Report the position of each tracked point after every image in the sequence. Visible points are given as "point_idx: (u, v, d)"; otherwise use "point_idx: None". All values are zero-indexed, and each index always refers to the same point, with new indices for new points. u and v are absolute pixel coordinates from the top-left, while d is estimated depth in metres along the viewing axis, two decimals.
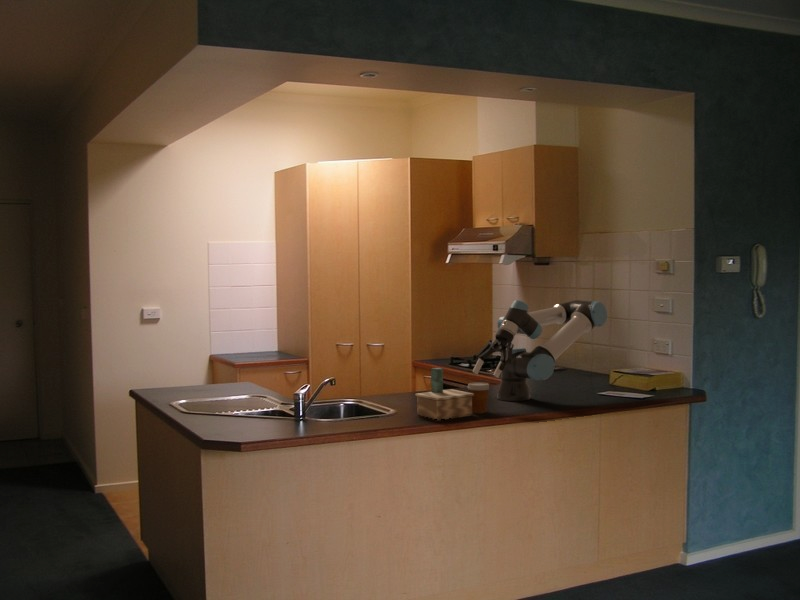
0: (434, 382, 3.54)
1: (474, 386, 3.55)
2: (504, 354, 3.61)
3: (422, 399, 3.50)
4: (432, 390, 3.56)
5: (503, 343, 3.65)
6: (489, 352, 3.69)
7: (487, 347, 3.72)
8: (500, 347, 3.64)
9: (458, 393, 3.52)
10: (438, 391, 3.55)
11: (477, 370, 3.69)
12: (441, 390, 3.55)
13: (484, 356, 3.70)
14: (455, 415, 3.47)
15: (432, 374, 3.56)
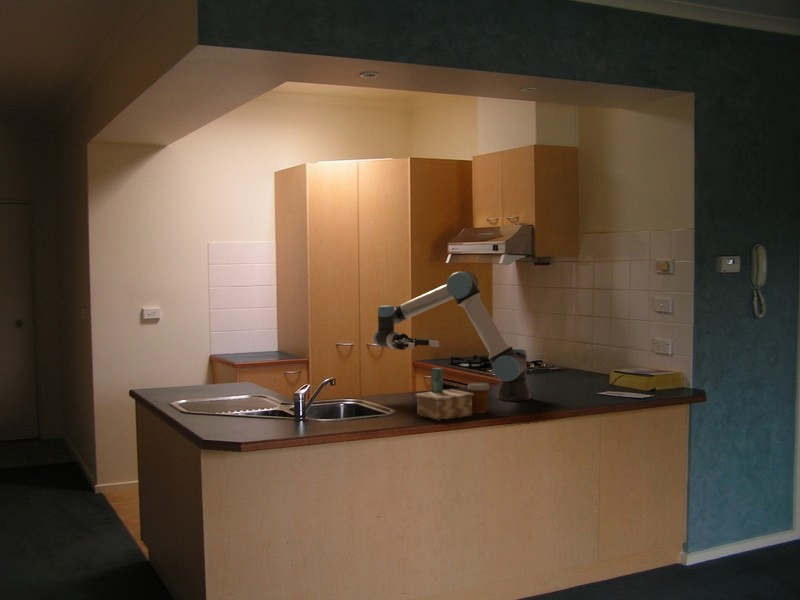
0: (434, 382, 3.54)
1: (474, 386, 3.55)
2: None
3: (422, 399, 3.50)
4: (432, 390, 3.56)
5: None
6: (419, 342, 3.80)
7: None
8: None
9: (458, 393, 3.52)
10: (438, 391, 3.55)
11: (435, 342, 3.74)
12: (441, 390, 3.55)
13: (425, 342, 3.79)
14: (455, 415, 3.47)
15: (432, 374, 3.56)
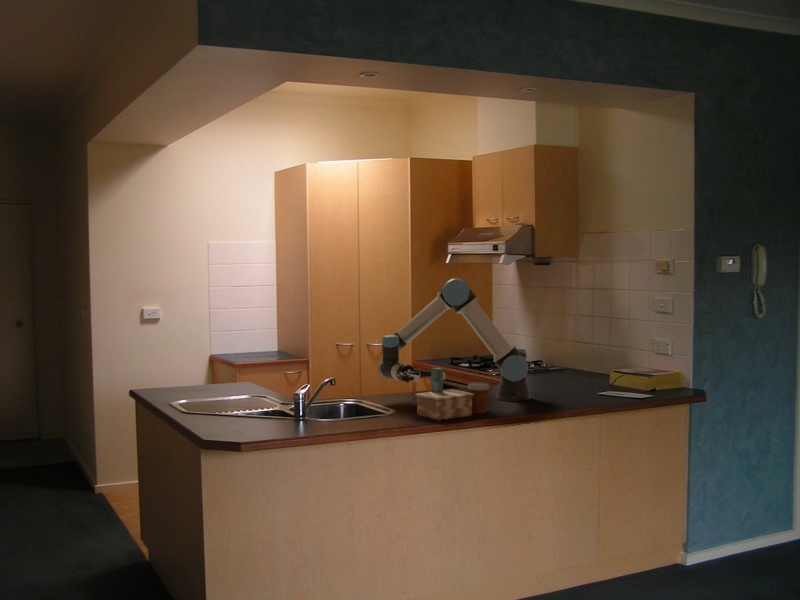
0: (434, 382, 3.54)
1: (474, 386, 3.55)
2: None
3: (422, 399, 3.50)
4: (432, 390, 3.56)
5: None
6: (424, 374, 3.69)
7: None
8: None
9: (458, 393, 3.52)
10: (438, 391, 3.55)
11: None
12: (441, 390, 3.55)
13: None
14: (455, 415, 3.47)
15: (432, 374, 3.56)
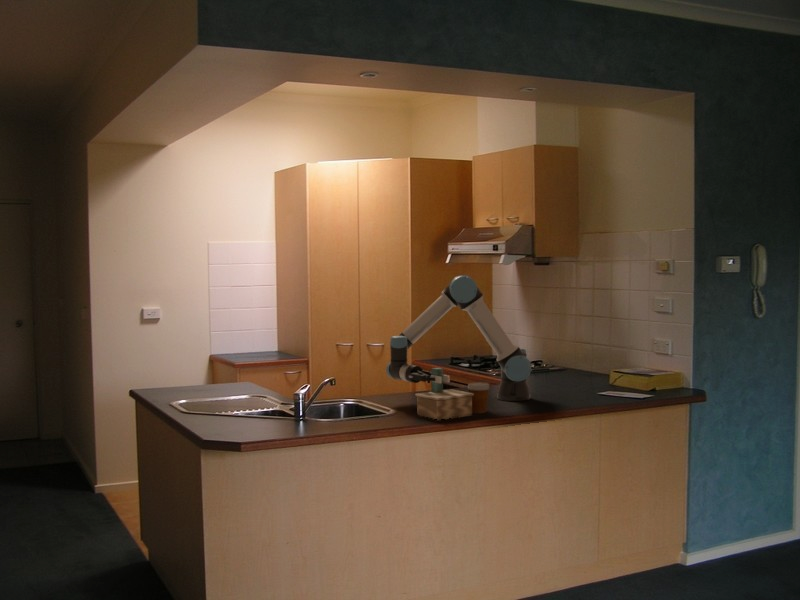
0: (434, 382, 3.54)
1: (474, 386, 3.55)
2: None
3: (422, 399, 3.50)
4: (432, 390, 3.56)
5: None
6: (430, 376, 3.62)
7: None
8: None
9: (458, 393, 3.52)
10: (438, 391, 3.55)
11: (446, 377, 3.54)
12: (441, 390, 3.55)
13: None
14: (455, 415, 3.47)
15: (432, 374, 3.56)
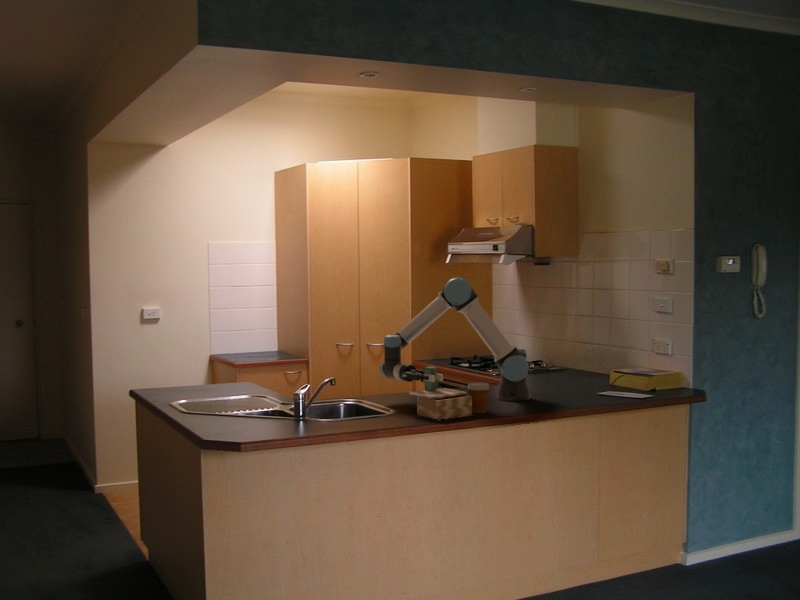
0: (428, 381, 3.58)
1: (474, 386, 3.55)
2: None
3: (422, 399, 3.50)
4: (425, 389, 3.60)
5: None
6: None
7: None
8: None
9: (451, 392, 3.56)
10: (431, 390, 3.58)
11: (439, 375, 3.58)
12: (434, 389, 3.59)
13: None
14: (455, 415, 3.47)
15: (425, 373, 3.59)
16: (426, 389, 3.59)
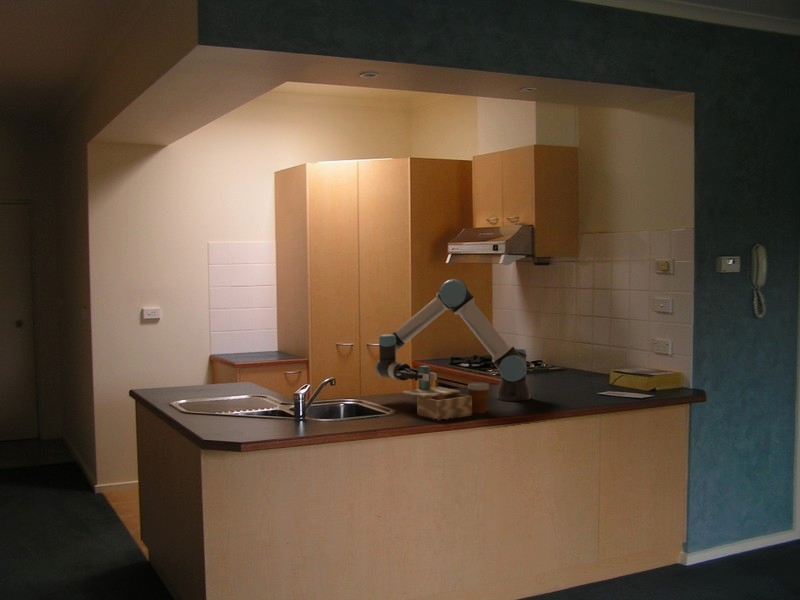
0: None
1: (474, 386, 3.55)
2: (410, 375, 3.66)
3: (422, 399, 3.50)
4: (419, 387, 3.63)
5: None
6: None
7: None
8: None
9: (445, 390, 3.60)
10: (425, 388, 3.62)
11: (433, 374, 3.61)
12: (428, 387, 3.63)
13: None
14: (455, 415, 3.47)
15: (419, 372, 3.63)
16: (420, 388, 3.63)
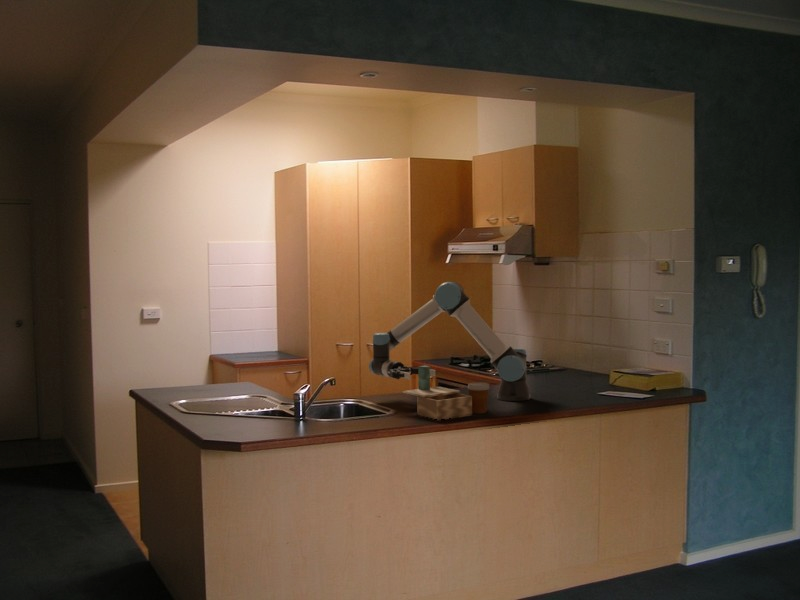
0: (422, 379, 3.62)
1: (474, 386, 3.55)
2: None
3: (422, 399, 3.50)
4: (419, 387, 3.63)
5: None
6: (415, 371, 3.75)
7: None
8: None
9: (445, 390, 3.60)
10: (425, 388, 3.62)
11: (431, 371, 3.69)
12: (428, 387, 3.63)
13: None
14: (455, 415, 3.47)
15: (419, 372, 3.63)
16: (420, 388, 3.63)
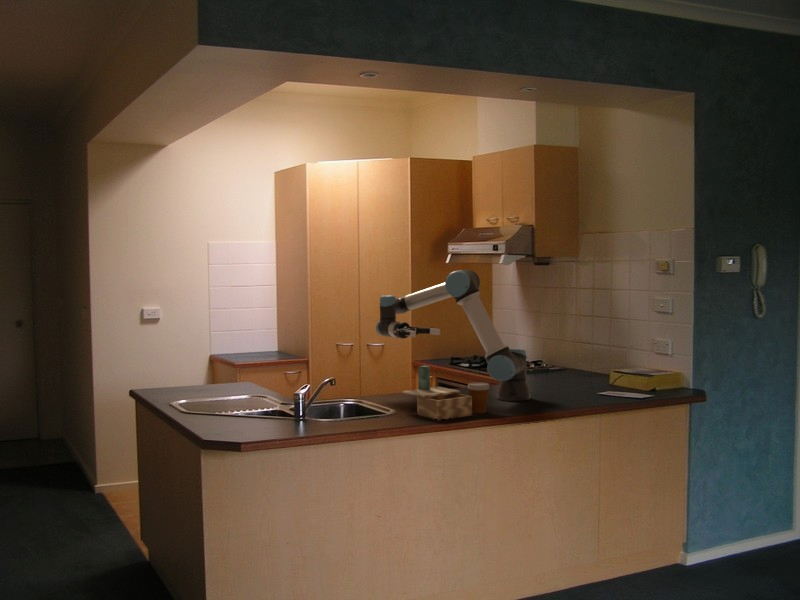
0: (422, 379, 3.62)
1: (474, 386, 3.55)
2: None
3: (422, 399, 3.50)
4: (419, 387, 3.63)
5: None
6: (420, 331, 3.88)
7: None
8: None
9: (445, 390, 3.60)
10: (425, 388, 3.62)
11: (436, 330, 3.82)
12: (428, 387, 3.63)
13: (426, 331, 3.87)
14: (455, 415, 3.47)
15: (419, 372, 3.63)
16: (420, 388, 3.63)
